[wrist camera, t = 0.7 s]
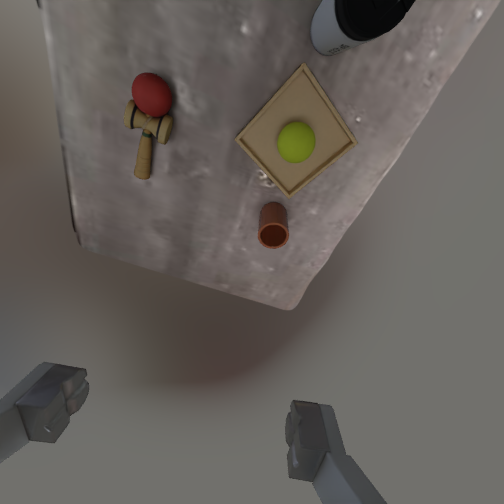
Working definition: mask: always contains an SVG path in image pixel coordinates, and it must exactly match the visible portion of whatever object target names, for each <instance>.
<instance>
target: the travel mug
mask: <svg viewBox="0 0 504 504" xmlns="http://www.w3.org/2000/svg"><path fill="white" fill-rule="evenodd" d="M414 2H415V0H322V2H321V4H320V5H319V7H318V8H317V10H316V12H315V14H314V16H313V19H312V23H311V29H310V35H311V41H312V44H313V46H314V48H315V49H316V51H318V52H319V53H320V54H322V55H325V56H332V55H335V54H338V53H340V52H343V51H345V50H348V49H351V48H353V47H356V46H358V45H361V44H363V43H366V42H369V41H371V40H374V39H375V38H377V37H379V36H381V35H383V34H384V33H387V32H389V31H390V30H391V29H393V28H394V27H395V26H396V25H397V24H398V23H399V22H400V21H401V20H402V19H403V18H404V16H405V14H406V12H408V11H409V9H410V8H411V6H412V5H413V3H414Z"/></svg>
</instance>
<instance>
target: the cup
mask: <svg viewBox="0 0 504 504" xmlns="http://www.w3.org/2000/svg"><path fill="white" fill-rule="evenodd" d="M288 238H289V230H288V219H287V212H286V209H285V207H284V206H283V205H281V204H280V203H276V202H271V203H268V204H266V205H264V206H263V208H262V209H261V212H260V219H259V229H258V239H259V241H260V243H261V244H262V245H263V246H265V247H267V248H273V249H276V248H279V247H282V246H283V245H285V244H286V242H287V241H288Z"/></svg>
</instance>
